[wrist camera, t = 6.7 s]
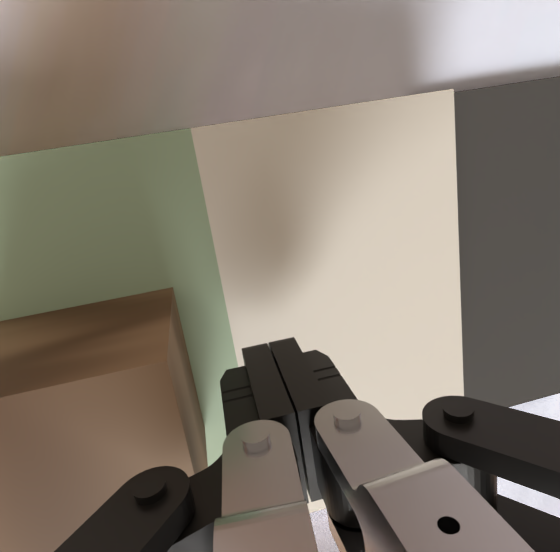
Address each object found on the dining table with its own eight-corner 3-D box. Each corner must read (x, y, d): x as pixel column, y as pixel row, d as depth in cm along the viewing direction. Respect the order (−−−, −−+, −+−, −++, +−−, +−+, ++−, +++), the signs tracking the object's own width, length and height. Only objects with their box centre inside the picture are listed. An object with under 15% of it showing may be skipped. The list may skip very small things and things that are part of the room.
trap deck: (615, 68, 18) (697, 51, 15) (595, 377, 22) (656, 410, 19) (-374, 217, 13) (-536, 236, 10) (-158, 584, 17) (-229, 671, 14)
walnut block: (172, 287, 13) (167, 360, 9) (204, 428, 15) (214, 557, 10) (-6, 322, 13) (-120, 424, 8) (46, 467, 14) (-23, 627, 9)
